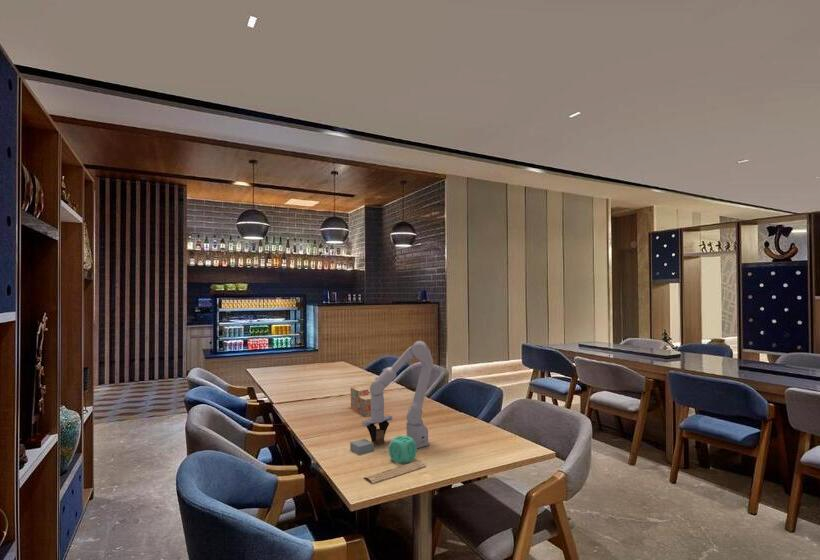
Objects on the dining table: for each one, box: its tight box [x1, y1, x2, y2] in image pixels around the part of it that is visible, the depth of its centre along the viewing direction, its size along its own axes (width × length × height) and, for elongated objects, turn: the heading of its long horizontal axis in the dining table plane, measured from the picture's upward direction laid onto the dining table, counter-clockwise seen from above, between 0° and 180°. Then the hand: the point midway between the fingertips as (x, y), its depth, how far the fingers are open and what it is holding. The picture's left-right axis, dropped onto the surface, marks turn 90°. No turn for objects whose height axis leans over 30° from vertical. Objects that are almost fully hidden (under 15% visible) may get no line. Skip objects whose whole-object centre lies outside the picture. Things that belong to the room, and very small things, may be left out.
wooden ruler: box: [363, 460, 427, 485], centre depth 155 cm, size 24×7×2 cm, turn 127°
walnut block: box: [370, 428, 385, 446], centre depth 186 cm, size 4×4×6 cm
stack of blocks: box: [350, 385, 371, 418], centre depth 238 cm, size 21×6×12 cm, turn 28°
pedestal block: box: [349, 438, 375, 456], centre depth 177 cm, size 7×7×4 cm
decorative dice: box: [388, 435, 418, 465], centre depth 167 cm, size 8×8×8 cm
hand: (377, 439), depth 186 cm, fingers closed on walnut block, 4 cm apart
